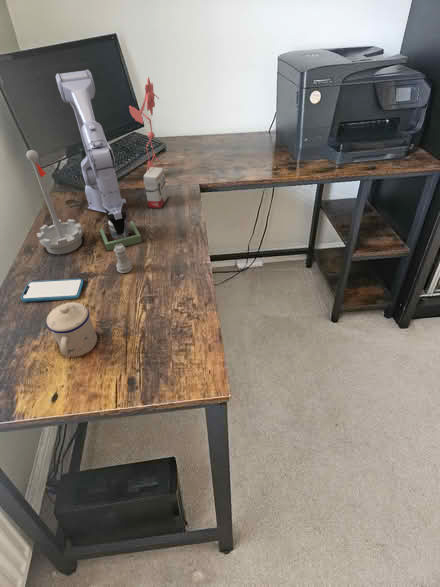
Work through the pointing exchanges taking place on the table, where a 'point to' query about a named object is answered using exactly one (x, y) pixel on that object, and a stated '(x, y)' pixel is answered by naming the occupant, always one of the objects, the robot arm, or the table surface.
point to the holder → (124, 241)
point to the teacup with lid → (72, 329)
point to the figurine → (138, 117)
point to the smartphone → (52, 290)
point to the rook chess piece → (122, 259)
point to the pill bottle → (114, 233)
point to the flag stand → (55, 221)
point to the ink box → (155, 187)
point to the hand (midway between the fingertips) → (118, 228)
